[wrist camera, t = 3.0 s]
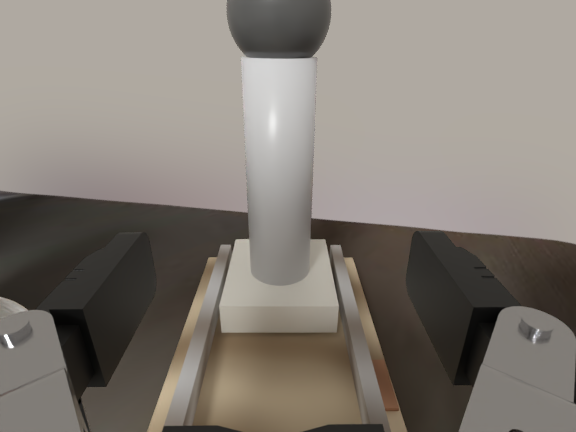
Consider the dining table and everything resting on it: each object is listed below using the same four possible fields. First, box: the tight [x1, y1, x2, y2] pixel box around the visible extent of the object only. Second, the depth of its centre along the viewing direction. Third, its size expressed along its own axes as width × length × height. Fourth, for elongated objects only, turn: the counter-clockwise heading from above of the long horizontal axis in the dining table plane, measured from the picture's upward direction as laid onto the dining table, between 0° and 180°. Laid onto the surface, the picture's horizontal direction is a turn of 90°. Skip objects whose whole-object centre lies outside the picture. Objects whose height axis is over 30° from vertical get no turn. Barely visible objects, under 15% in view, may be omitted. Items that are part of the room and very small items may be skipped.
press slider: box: [219, 0, 339, 333], centre depth 21 cm, size 8×7×20 cm
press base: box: [147, 245, 407, 432], centre depth 21 cm, size 21×12×3 cm, turn 0°
